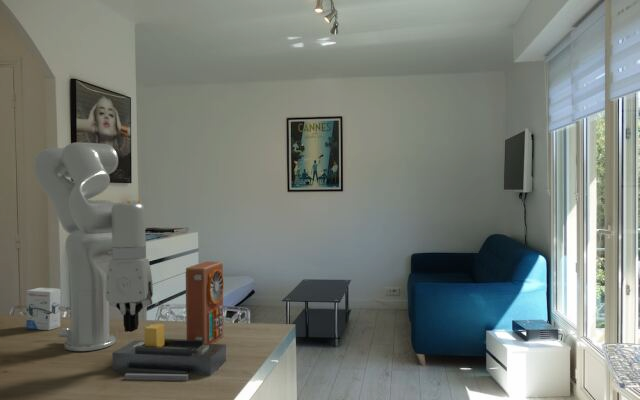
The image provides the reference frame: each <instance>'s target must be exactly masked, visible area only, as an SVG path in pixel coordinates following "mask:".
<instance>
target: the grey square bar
mask: <svg viewBox="0 0 640 400" xmlns="http://www.w3.org/2000/svg"><path fill="white" fill-rule="evenodd" d="M124 380H127V381H128V380H129V381H130V380H131V381H132V380H133V381H134V380H135V381H137V380H138V381H139V380H140V381H141V380H142V381H182V382H183V381H188V380H189V374H134V373H126V374H125V375H124Z"/></svg>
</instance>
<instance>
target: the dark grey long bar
mask: <svg viewBox="0 0 640 400" xmlns="http://www.w3.org/2000/svg"><path fill="white" fill-rule="evenodd" d="M117 372H118V373H117V374H118V375H122V376H125V374H126V373H134V374H187V371H176V370H158V369H140V368H122V367H121V368H120V369H118V370H117Z"/></svg>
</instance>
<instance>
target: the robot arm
mask: <svg viewBox="0 0 640 400" xmlns="http://www.w3.org/2000/svg"><path fill="white" fill-rule="evenodd" d="M33 164H34V165H33V167H34V174H35V177H36V180H37V182H38V184H39V186H40V188H41V190H43V192H44V193H45V194H46V195H47V197H48V199H50V201H51V203H52V205H53V208H54V210H55V213H56V215H57V217H58V220H59V222H60V224H61V226H62V228H63V230H65V231H66V233H67V234H68V235H67V237H66V239H65V253H66V257H67V261H68V268H69V269H68V270H69V290H70V291H69V295H70V297H69V298H70V299H69V300H70V303H69V304H70V327H62V328H61V329H60V332H59V333H58V336H59V337H60V338H66V341H65V342H64V344H63V345H64V349H65V350H68V351H72V352H90V351H95V350H96V351H97V350H100V349H105V348H107V347H110V346H112V345H114V344H115V343H116V337H115V336H114V335H113V334H110V306H111V307H114V308H117V309H118V310H119V311H120V314H121V315H122V316H123V317H122V318H123V327H124V332H125V333H126V332H130V333H131V332H134V331H136V330H138V328H139V313H141V311H142V310H143V309H144V308H146V307H149V306H151V305H153V300H152V298H153V294H154V290H153V289H154V288H153V285H154V284H153V276H152V269H151V263H150V261H149V259H148V258H147V252H146V250H147V249H146V247H147V246H146V245H147V244H146V213H145V207H144V205H143V204H142V203H139V202H114V201H111V200H101V199H99V200H98V199H97V200H95V199H94V200H91V198H94V197H97V196H98V195H100V194H102V193H103V192H105V191H106V190H107V189H108V188H109V185H110V182H111V180H110V179H111V178H110V174H112V173H114V172H115V171H116V170H117V168H118V165H119V156H118V153H117V151H116V149H115V148H114V147H113V146H112V145H110V144H106V143H98V142H97V143H95V142H80V141H78V142H77V141H76V142H71V143H69V144H67V145H66V146H64V147H51V148H50V147H49V148H46V149H45V148H44V149H43V150H40V151H39V152H38V153H37V154H36V156H35V157H34V163H33ZM69 178H71V179H69ZM106 262H107V263H108V265H107V270H106V271H105V270H104V269H103V268H102V267H101V265H100V263H101V264H102V263H106Z"/></svg>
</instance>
